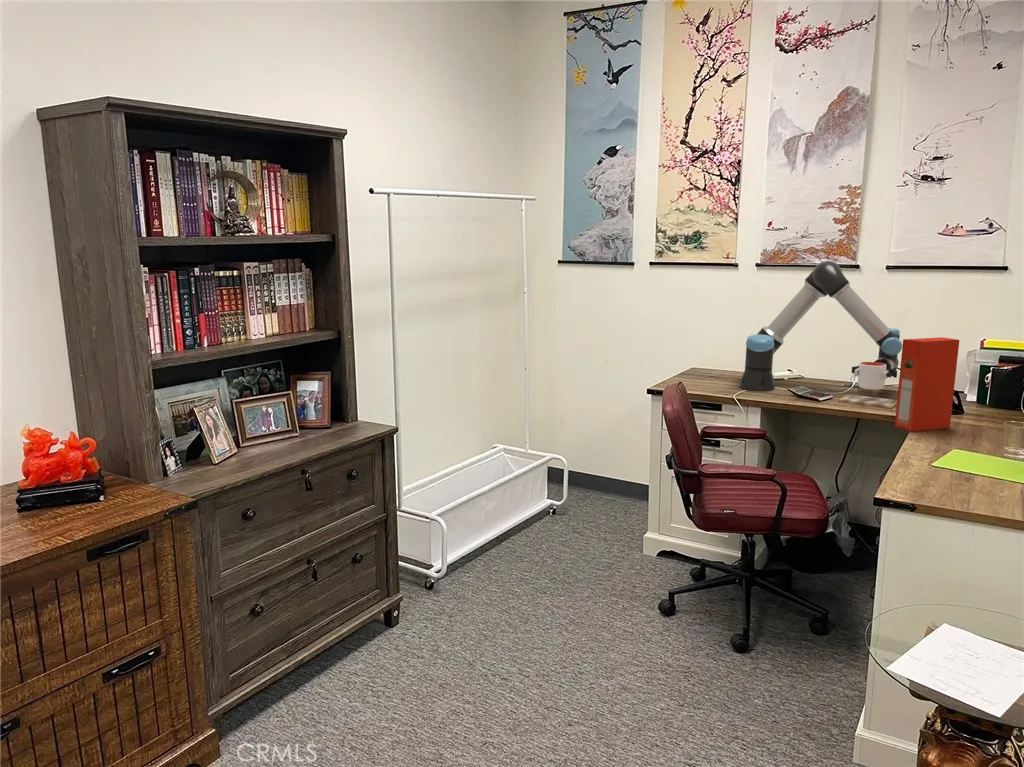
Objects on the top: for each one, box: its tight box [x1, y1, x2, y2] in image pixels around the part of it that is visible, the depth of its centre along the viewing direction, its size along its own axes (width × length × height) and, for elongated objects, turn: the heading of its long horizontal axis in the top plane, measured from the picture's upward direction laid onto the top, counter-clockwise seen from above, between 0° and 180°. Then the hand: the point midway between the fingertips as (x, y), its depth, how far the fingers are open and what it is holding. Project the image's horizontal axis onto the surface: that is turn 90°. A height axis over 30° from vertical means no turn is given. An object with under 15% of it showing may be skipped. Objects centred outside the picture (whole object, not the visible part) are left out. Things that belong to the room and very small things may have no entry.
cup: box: [857, 361, 886, 391], centre depth 310 cm, size 10×10×10 cm
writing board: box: [838, 393, 897, 409], centre depth 312 cm, size 20×14×1 cm
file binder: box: [894, 336, 960, 433], centre depth 269 cm, size 8×17×32 cm, turn 109°
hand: (869, 374), depth 307 cm, fingers closed on cup, 10 cm apart
